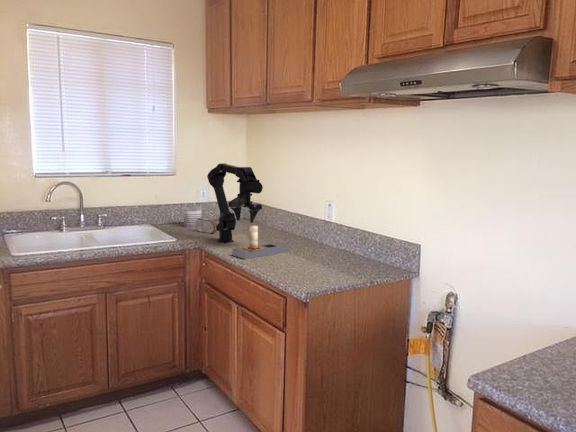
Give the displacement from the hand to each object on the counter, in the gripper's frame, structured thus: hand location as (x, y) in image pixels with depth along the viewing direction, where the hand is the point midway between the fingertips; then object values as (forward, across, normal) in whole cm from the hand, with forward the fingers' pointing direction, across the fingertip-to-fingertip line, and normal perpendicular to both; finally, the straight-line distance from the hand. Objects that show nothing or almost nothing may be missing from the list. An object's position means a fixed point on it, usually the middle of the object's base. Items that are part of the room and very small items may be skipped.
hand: (244, 222), depth 250 cm
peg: (+13, +15, -10) cm, 22 cm away
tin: (+13, -42, +12) cm, 46 cm away
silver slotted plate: (+13, +16, -5) cm, 21 cm away
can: (+13, -63, +20) cm, 67 cm away
